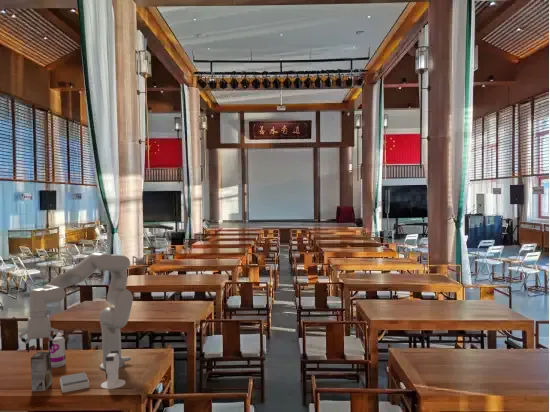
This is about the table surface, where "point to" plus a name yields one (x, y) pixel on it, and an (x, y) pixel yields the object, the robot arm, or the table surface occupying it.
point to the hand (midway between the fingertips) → (39, 349)
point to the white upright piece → (112, 371)
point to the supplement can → (57, 352)
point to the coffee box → (41, 371)
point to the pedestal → (74, 382)
